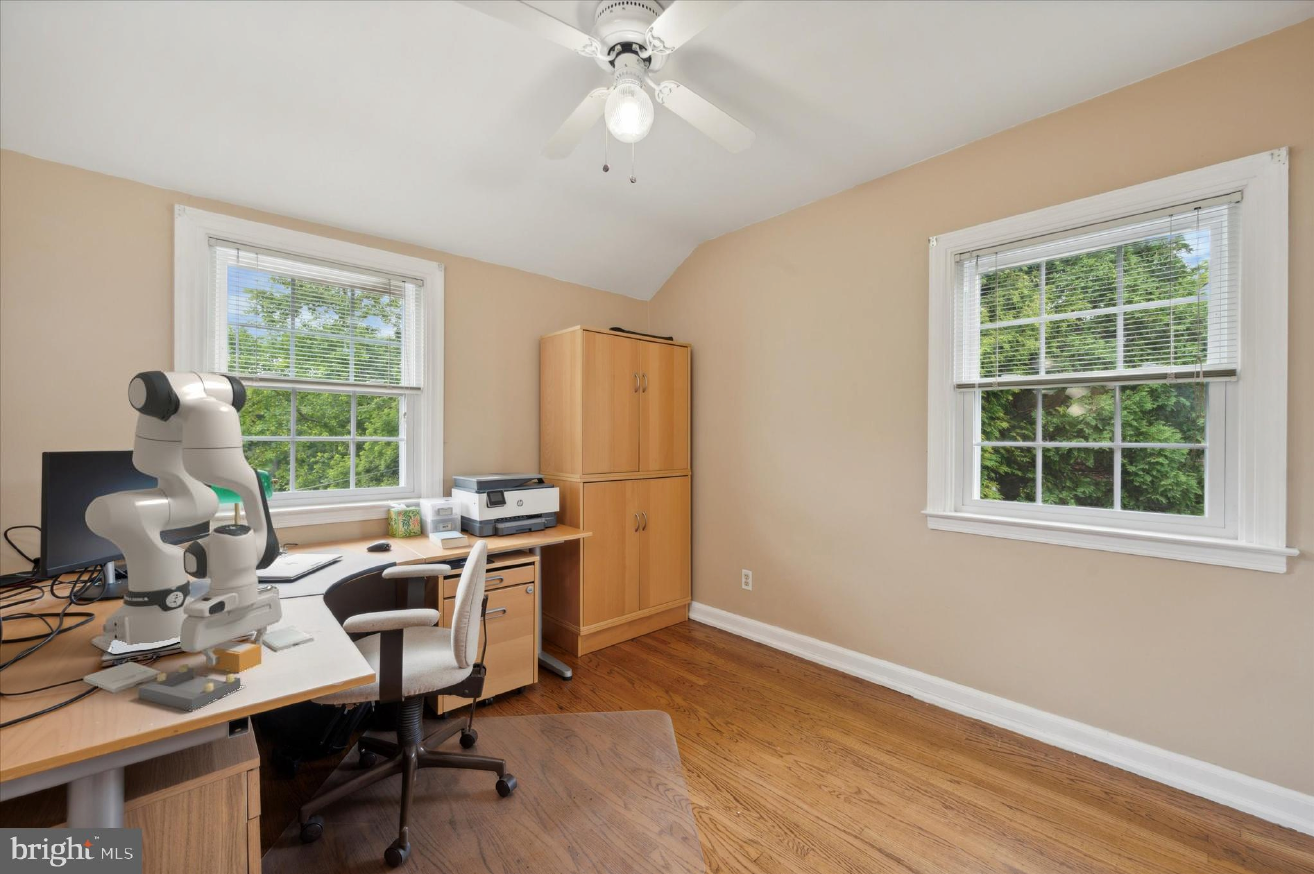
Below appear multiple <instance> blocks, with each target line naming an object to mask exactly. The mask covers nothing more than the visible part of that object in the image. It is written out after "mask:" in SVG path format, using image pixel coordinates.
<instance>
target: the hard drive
mask: <svg viewBox="0 0 1314 874" xmlns="http://www.w3.org/2000/svg"><path fill="white" fill-rule="evenodd" d="M314 641H315V640H314V637H312V636H311V635H309V634H307V633H305V632H303V631H302V630H300V629H298V628H296V627H295V626H288V627H285V628H281V629H278V630H273V631H269V632H266V633H265V635H264V637H263V639H262V645H263V644H264V645H265V646H266V647H269V649H272V651H275V652H277V653H278V651H279V652H281V651H280V650H282V651H285V650H284V649H286V650H288V649H292V648H295V647H299V646H301V645H305V644H308V643H311V642H314ZM291 647H292V648H291Z"/></svg>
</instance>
